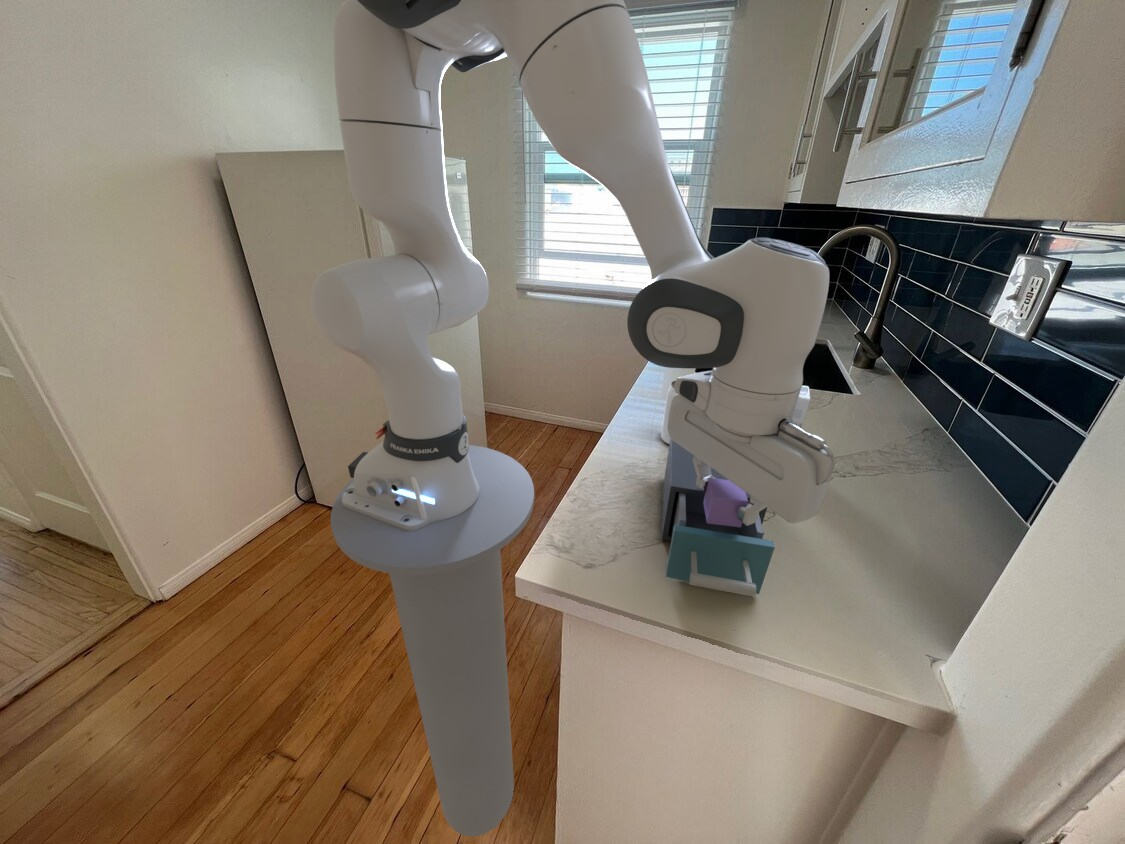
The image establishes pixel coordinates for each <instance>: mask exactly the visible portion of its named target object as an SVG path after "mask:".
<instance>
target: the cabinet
mask: <svg viewBox="0 0 1125 844" xmlns="http://www.w3.org/2000/svg"><path fill="white" fill-rule="evenodd" d="M693 457H694V455H693V454H691V453H690V452H689V451H687V450H686V449H684V448H683V447H682V446H680V445H679V444H677V443H676V442H674V441H673V440H672V439H671V440H670V445H669V447H668V453H667V460H666V465H665V472H664V477H663V489H662V491H663V492H662V496H663V497H662V516H661V517H662V518H661V519H662V521H661V540H663V541H666V542H668V541H669V542H671V540H672V511H673V505H674V500H675V494H676V492H682V493H689V494H696V495H702V496H705V493H706V492H703V491H702V490H700V489H699V488H698V487H697V486H696V481H697V474H696V471H695V467H694V463H693ZM710 468H711V467H710ZM711 475H712V476H713V477H715V478H716V479H723V480H728V479H727V478H725V477H724V476H722V475H721V474H720V473H718V472H717V471H715V470H714V469H713V468H711ZM745 493H746V492H745ZM746 496H747V499H748V502H749V503H751V502H750V497H751V495H749V494H748V493H746ZM767 510H768V508H767V507H766V508H765V509H763V510H761V511H759V516H760V520H761V524H762V525H763V523H764V520H765V516H766V513H767Z"/></svg>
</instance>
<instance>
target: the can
mask: <svg viewBox="0 0 1125 844" xmlns="http://www.w3.org/2000/svg"><path fill="white" fill-rule="evenodd" d="M675 382H676V380H673V381H671V383H670V386H669V388H668V389H667V393H666V399H665V405H664V412H663V417H662V424H661V425H662V426H661V433H660V437H661V440H662V441H663V442H664V443H665V444H667V445H669V446H670V440H671V438H670V436H669V433H668V429H667V425H668V418H669V412H670V407H671V403H672V400H673V398H674V396H675V395H677V393H676V392H675Z"/></svg>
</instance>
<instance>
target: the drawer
mask: <svg viewBox="0 0 1125 844" xmlns="http://www.w3.org/2000/svg"><path fill="white" fill-rule="evenodd" d="M704 497H705V496H702V495H696V494H689V493H682V492H676V494H675V500H674V505H673V511H672V540H671V541H670V546H669V552H668V557H667V561H666V566H665V567H666V568H665V577H666V578H670V579H675V580H681V581H686V582H689V586H695V587H700V588H705V589H711V590H715V591H721V592H727V593H733V594H737V595H741V596H742V595H743V596H748V597H756V595H759V594H760V593H761V589H762V587H763V584H764V580H765V577H766V574H767V571H768V569H769V566H770V563H771V561H772V557H773V553H774V551H775V548H776V547H775V544H774V541H773V540H770V539H765V538H763V537H764V535H765V532H764V527H763V523H762V524H761V520H760V516H759V514H758V518H757V520H756V522H755V523H753V524H751V525H748V526H746V525H745V524H744V523H743V522H742V525H741V527H732V526H725V525H717V524H709V523H707V521H706V515H705V510H704V504H703V502H704ZM748 504H749V502H748ZM750 504H752V503H750ZM752 505H754V504H752Z"/></svg>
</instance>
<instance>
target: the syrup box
mask: <svg viewBox="0 0 1125 844" xmlns="http://www.w3.org/2000/svg"><path fill="white" fill-rule="evenodd" d="M810 403H811V394H810V387H809V386H808V385H803V384H802V387H801V390H800V394H799V397H798V400H797V403H796V407H795V410H794V413H793V416H792V420H791V423H793V424H795V425H797V426H799V427H801V428H803V423H804V421H805V418H806V414H807V411H808V408H809V406H810Z"/></svg>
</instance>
